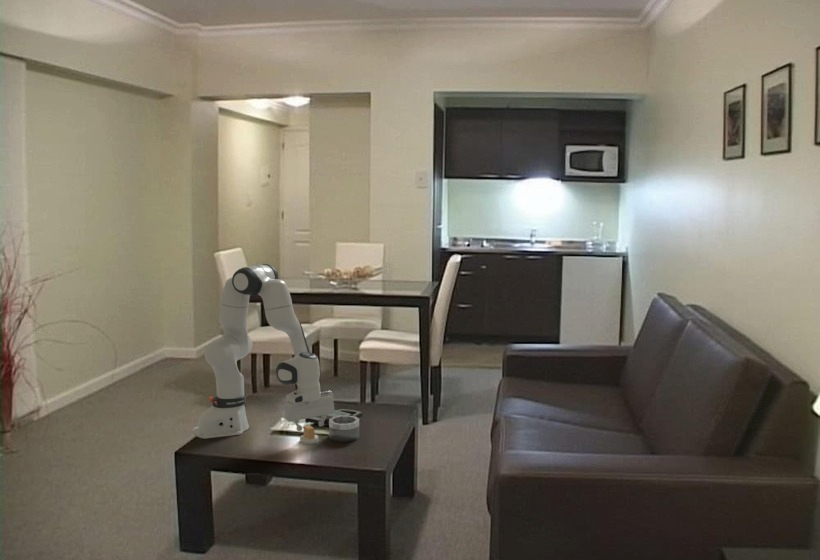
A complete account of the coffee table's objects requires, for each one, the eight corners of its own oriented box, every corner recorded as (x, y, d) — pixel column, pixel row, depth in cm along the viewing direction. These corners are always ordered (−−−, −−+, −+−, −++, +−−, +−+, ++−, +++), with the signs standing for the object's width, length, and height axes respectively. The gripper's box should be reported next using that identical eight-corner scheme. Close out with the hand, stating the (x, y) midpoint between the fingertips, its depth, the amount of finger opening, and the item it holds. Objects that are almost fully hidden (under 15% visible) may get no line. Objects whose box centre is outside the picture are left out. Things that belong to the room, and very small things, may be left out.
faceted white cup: (337, 444, 294) (337, 426, 293) (324, 435, 304) (324, 418, 303) (364, 438, 300) (364, 421, 299) (350, 430, 310) (350, 413, 309)
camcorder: (349, 431, 310) (349, 419, 309) (304, 426, 316) (304, 414, 315) (363, 419, 325) (363, 408, 325) (319, 415, 331) (319, 403, 330)
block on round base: (304, 445, 292) (304, 431, 292) (297, 440, 298) (296, 426, 298) (321, 442, 296) (321, 428, 295) (313, 437, 302) (313, 423, 301)
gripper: (329, 388, 303) (330, 421, 305) (282, 396, 292) (283, 430, 294) (336, 391, 298) (337, 425, 299) (288, 400, 287) (289, 435, 289)
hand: (310, 428), depth 296 cm, fingers open, 8 cm apart
